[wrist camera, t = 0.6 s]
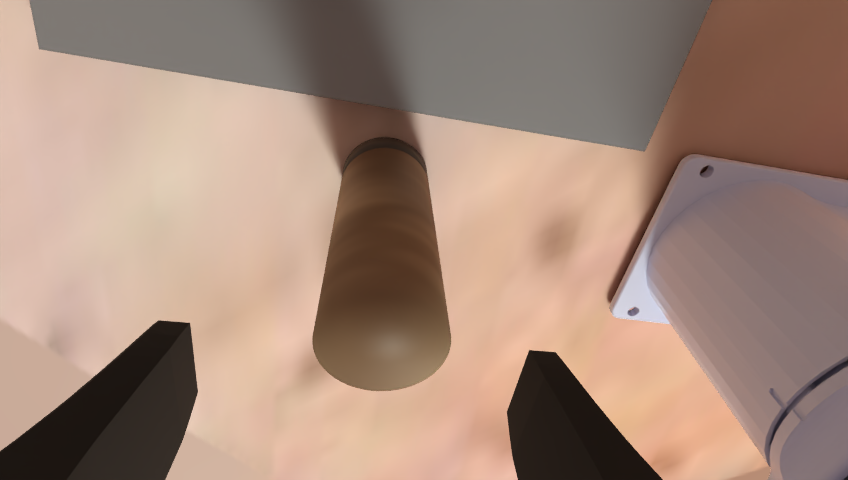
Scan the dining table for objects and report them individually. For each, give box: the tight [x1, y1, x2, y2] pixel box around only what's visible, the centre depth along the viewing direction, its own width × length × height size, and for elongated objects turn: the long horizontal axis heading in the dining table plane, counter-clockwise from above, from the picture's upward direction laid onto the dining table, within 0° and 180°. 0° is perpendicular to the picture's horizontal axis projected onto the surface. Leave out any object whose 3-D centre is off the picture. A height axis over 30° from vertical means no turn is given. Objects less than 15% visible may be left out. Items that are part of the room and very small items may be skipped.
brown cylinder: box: [313, 138, 451, 391], centre depth 16 cm, size 3×3×9 cm
